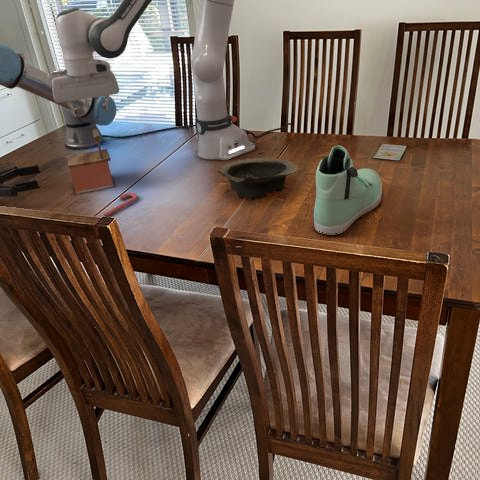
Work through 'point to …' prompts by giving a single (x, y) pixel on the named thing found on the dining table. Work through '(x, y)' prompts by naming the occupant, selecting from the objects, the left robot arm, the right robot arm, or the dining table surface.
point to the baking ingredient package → (390, 152)
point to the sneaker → (343, 192)
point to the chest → (91, 177)
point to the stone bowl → (257, 176)
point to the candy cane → (122, 203)
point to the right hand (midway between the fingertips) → (91, 111)
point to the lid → (89, 155)
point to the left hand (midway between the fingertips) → (38, 176)
